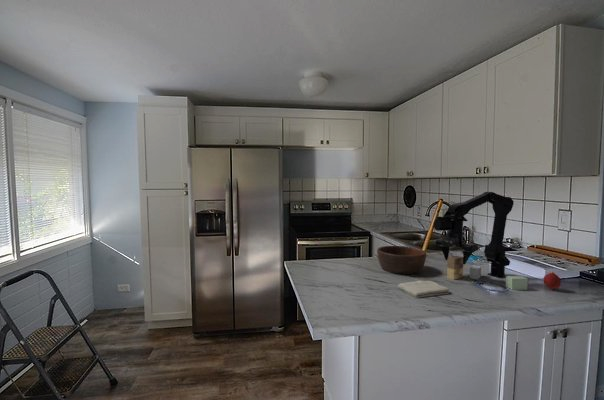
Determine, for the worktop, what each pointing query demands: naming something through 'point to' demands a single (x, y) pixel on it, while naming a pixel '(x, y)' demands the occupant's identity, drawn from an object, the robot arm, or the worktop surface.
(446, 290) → the washcloth
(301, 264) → the worktop surface
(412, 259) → the wooden bowl
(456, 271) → the oak brick
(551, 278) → the red rounded lump
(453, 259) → the walnut brick
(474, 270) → the grey brick
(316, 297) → the worktop surface
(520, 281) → the sage brick
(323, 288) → the worktop surface
